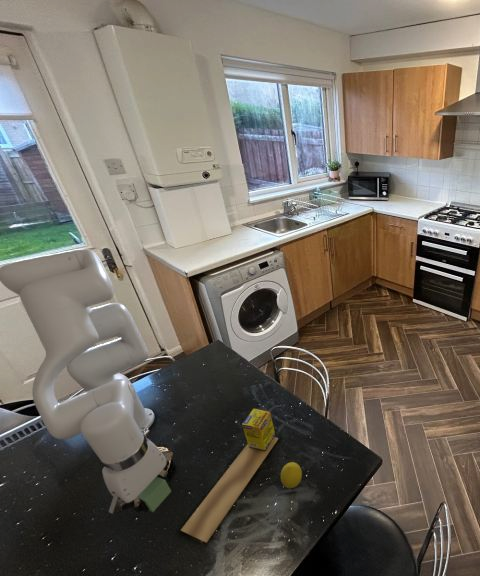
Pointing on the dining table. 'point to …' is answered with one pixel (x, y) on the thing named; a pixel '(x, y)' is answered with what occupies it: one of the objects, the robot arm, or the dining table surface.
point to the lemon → (291, 475)
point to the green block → (155, 493)
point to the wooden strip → (225, 493)
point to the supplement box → (259, 429)
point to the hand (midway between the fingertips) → (153, 496)
